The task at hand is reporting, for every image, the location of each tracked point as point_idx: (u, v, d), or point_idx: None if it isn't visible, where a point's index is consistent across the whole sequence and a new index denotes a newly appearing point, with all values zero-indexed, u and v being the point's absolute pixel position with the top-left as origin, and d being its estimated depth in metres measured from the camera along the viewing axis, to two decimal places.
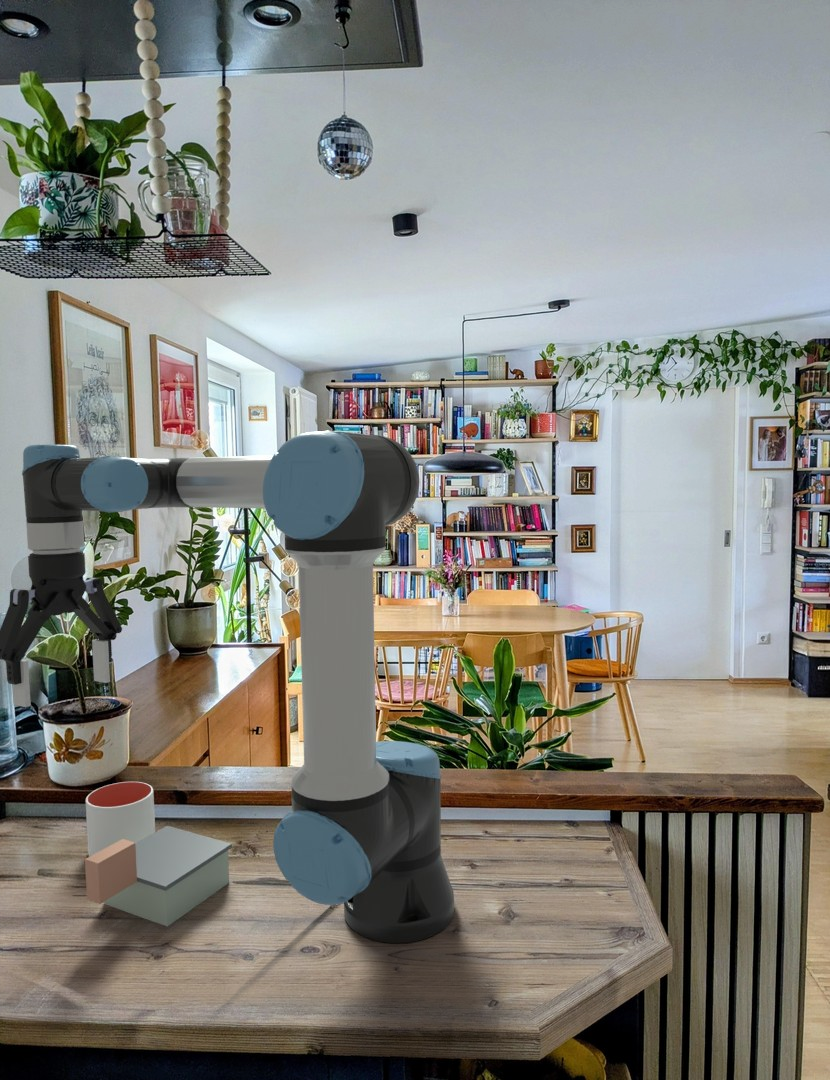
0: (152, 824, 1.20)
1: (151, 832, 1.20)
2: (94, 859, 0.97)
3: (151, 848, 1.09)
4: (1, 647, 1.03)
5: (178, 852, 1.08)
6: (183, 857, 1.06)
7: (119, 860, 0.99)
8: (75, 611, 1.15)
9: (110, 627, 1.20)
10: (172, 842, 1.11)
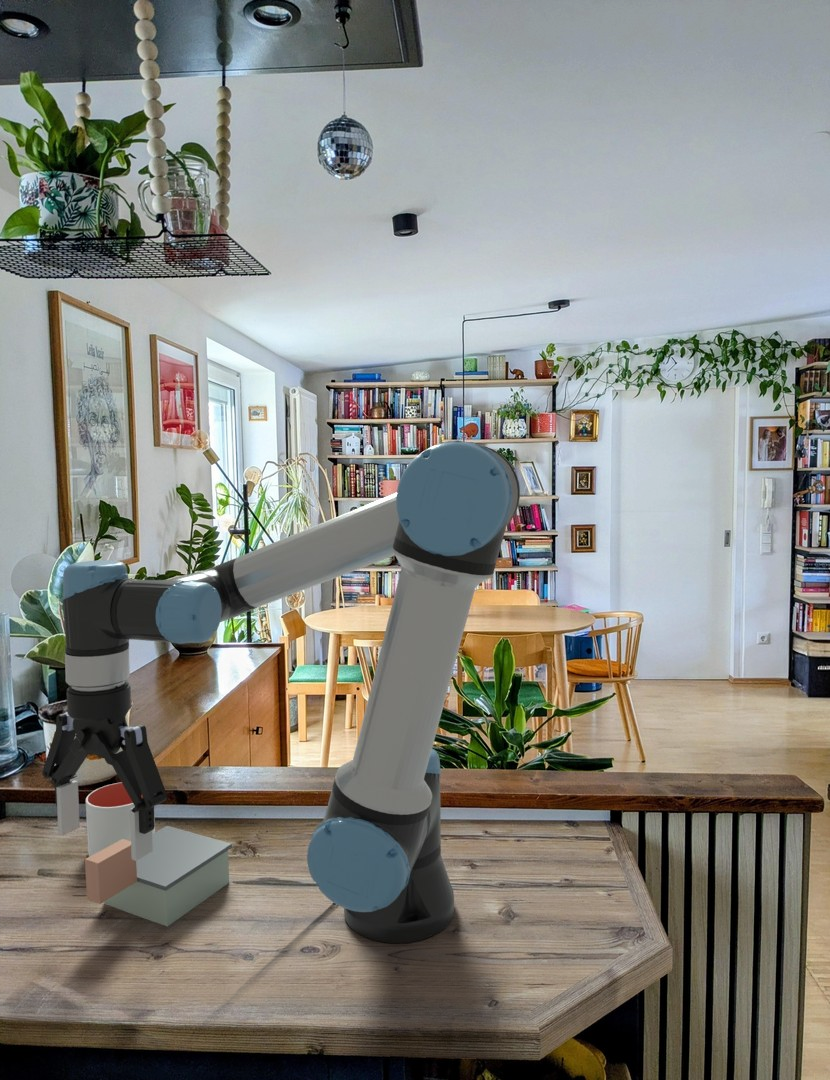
0: None
1: None
2: (94, 859, 0.97)
3: None
4: None
5: (178, 852, 1.08)
6: (183, 857, 1.06)
7: (119, 860, 0.99)
8: None
9: None
10: (172, 842, 1.11)
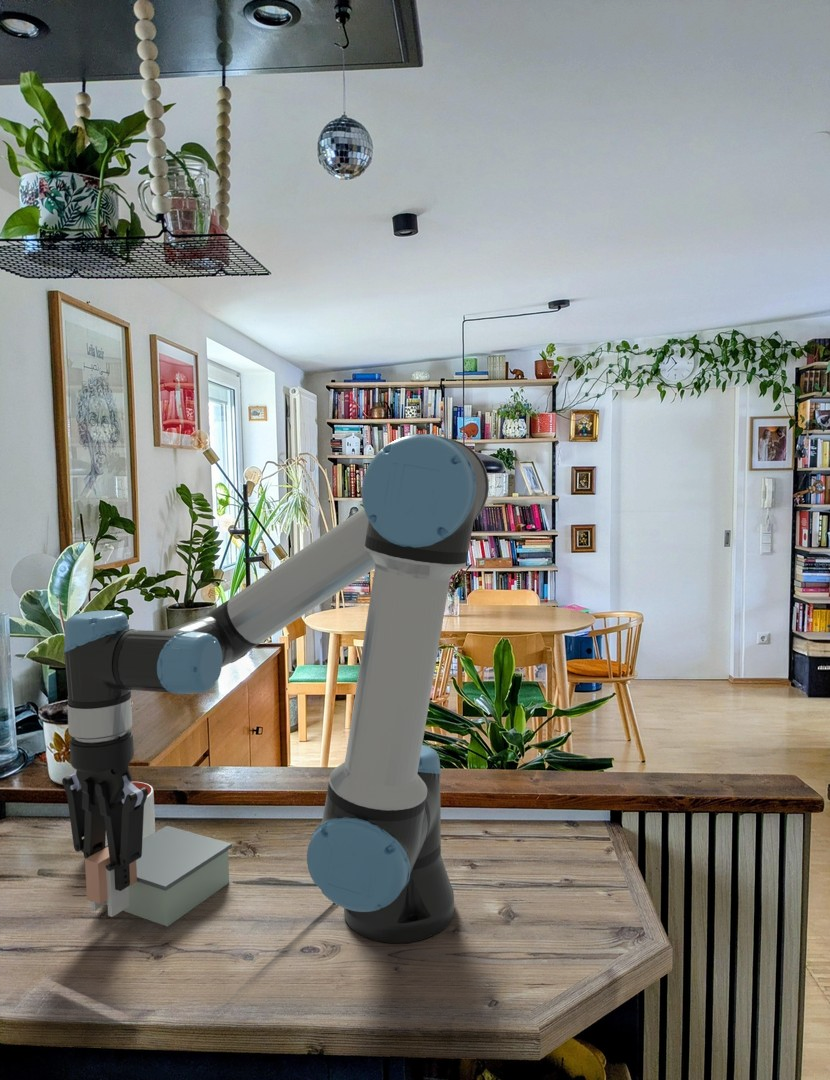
0: (152, 824, 1.20)
1: (151, 832, 1.20)
2: (94, 859, 0.97)
3: (151, 848, 1.09)
4: None
5: (178, 852, 1.08)
6: (183, 857, 1.06)
7: None
8: None
9: None
10: (172, 842, 1.11)
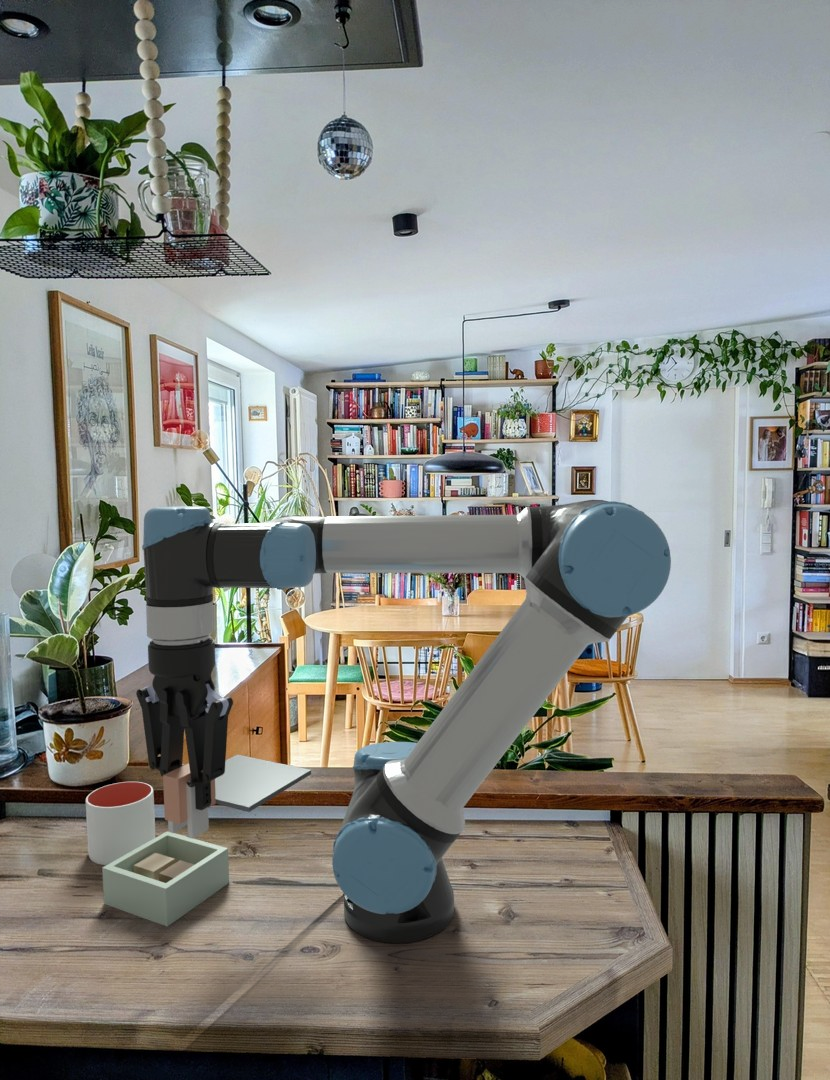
0: (152, 824, 1.20)
1: (151, 832, 1.20)
2: (173, 775, 0.89)
3: (225, 774, 1.01)
4: None
5: (255, 777, 1.00)
6: (261, 781, 0.98)
7: None
8: None
9: None
10: (246, 768, 1.03)
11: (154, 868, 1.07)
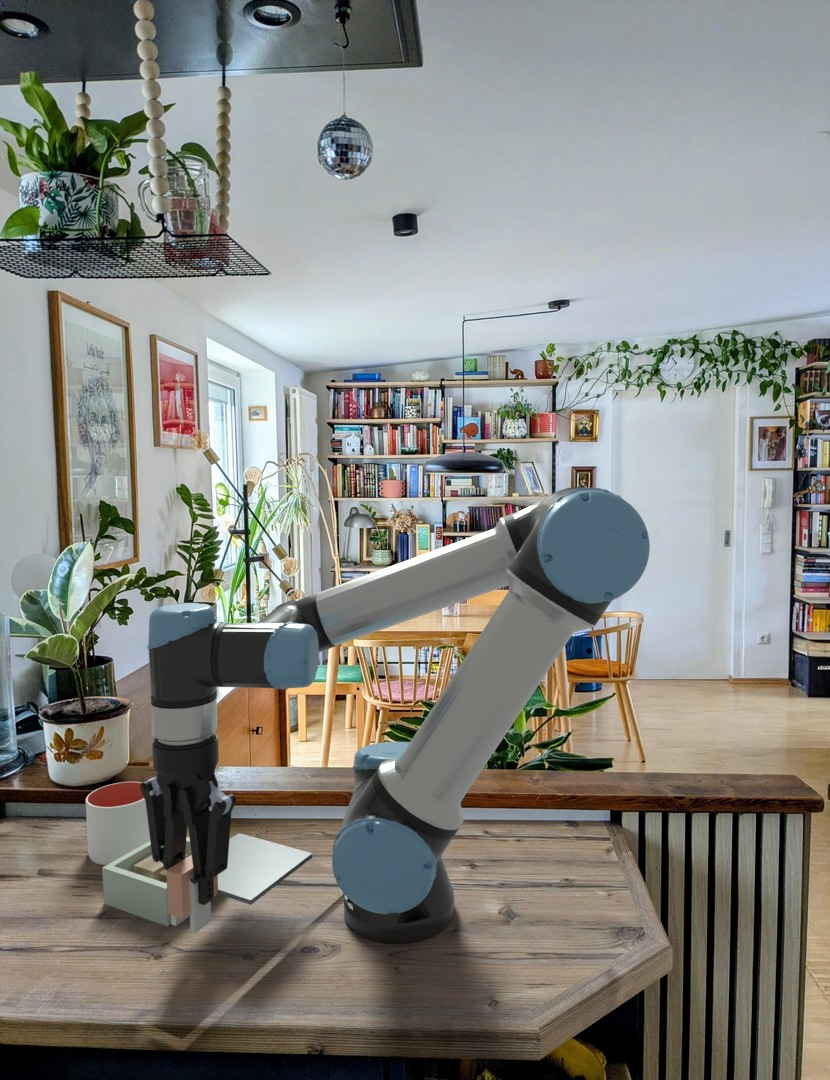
0: None
1: None
2: (177, 870, 0.90)
3: None
4: None
5: (257, 862, 1.01)
6: (263, 868, 0.99)
7: None
8: None
9: None
10: (248, 850, 1.04)
11: (154, 868, 1.07)
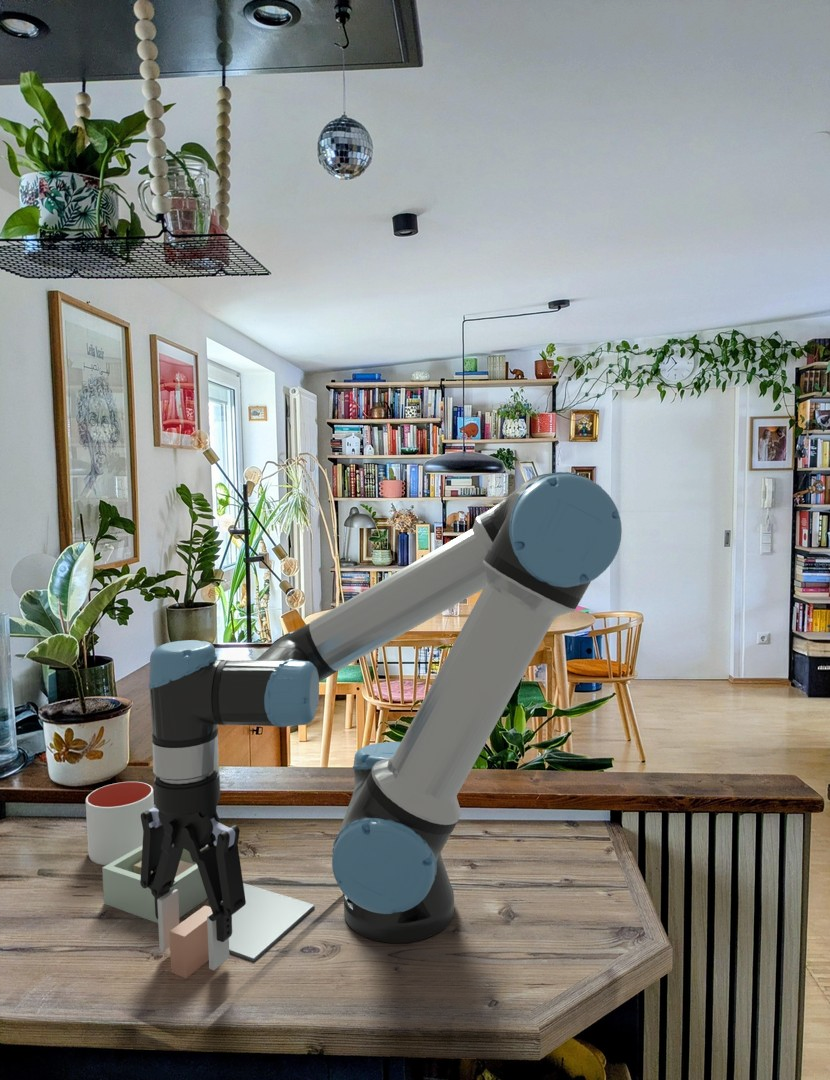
0: None
1: None
2: (180, 931, 0.90)
3: None
4: None
5: (259, 915, 1.01)
6: (266, 922, 1.00)
7: (205, 930, 0.92)
8: None
9: None
10: (250, 902, 1.04)
11: None
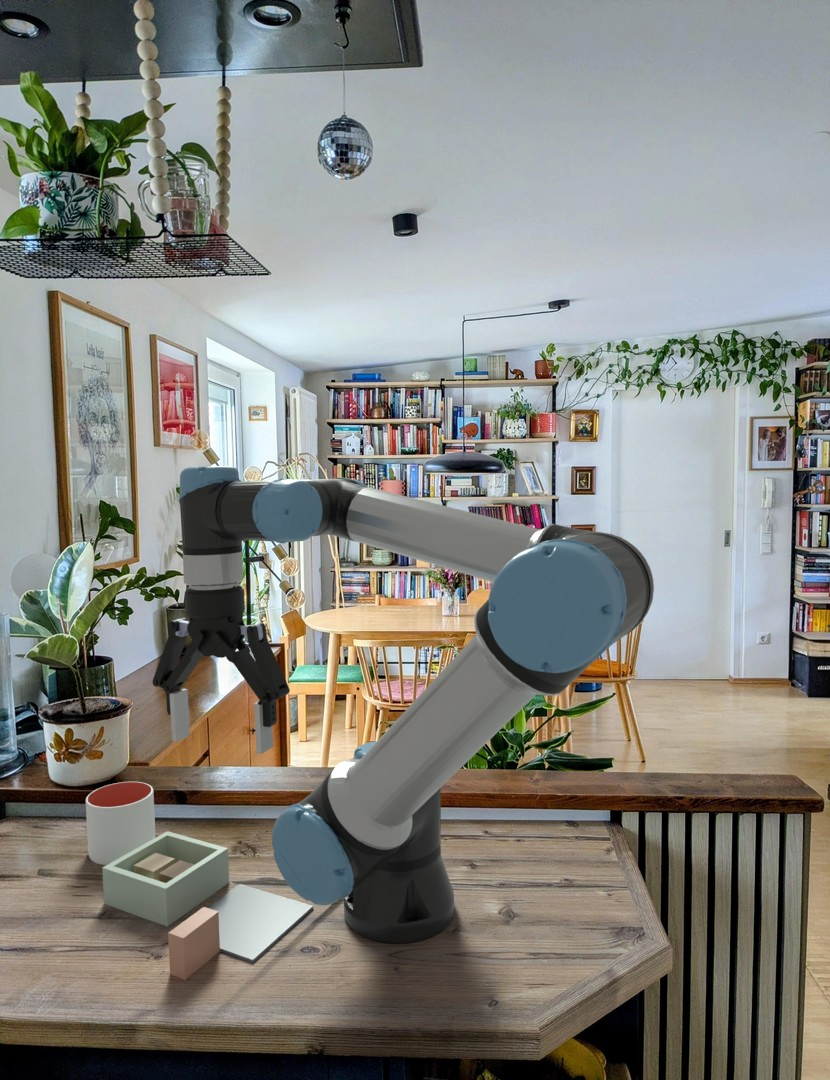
0: (152, 824, 1.20)
1: (151, 832, 1.20)
2: (178, 932, 0.90)
3: (228, 912, 1.02)
4: None
5: (258, 917, 1.01)
6: (264, 923, 1.00)
7: (203, 932, 0.92)
8: None
9: None
10: (249, 903, 1.04)
11: (154, 868, 1.07)
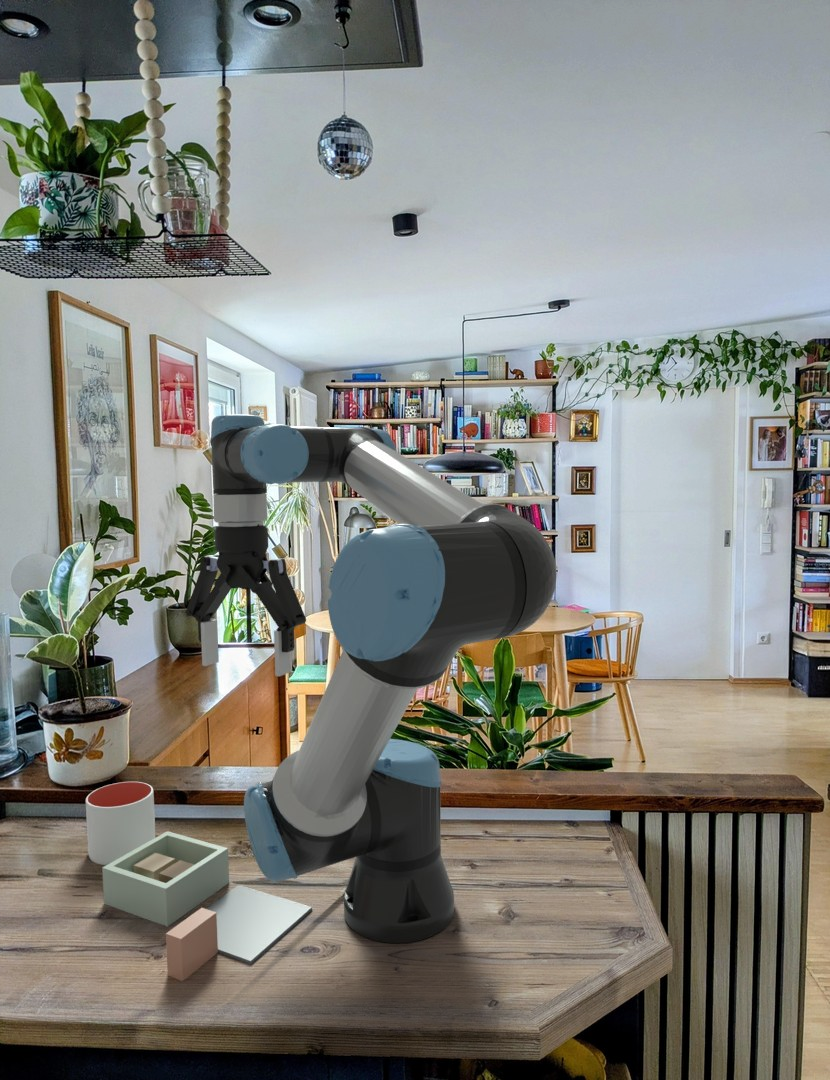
0: (152, 824, 1.20)
1: (151, 832, 1.20)
2: (176, 933, 0.90)
3: (227, 913, 1.02)
4: None
5: (256, 918, 1.01)
6: (263, 924, 0.99)
7: (201, 933, 0.92)
8: None
9: None
10: (248, 904, 1.04)
11: (154, 868, 1.07)
